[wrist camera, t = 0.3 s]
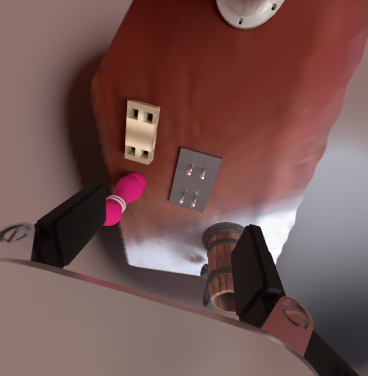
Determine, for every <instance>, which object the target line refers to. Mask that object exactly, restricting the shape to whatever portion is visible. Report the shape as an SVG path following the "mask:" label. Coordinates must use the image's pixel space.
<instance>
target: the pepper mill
mask: <svg viewBox="0 0 368 376" xmlns="http://www.w3.org/2000/svg"><path fill="white" fill-rule="evenodd" d="M145 185H146V181H145V179H144V177H143V176H142V175H141V174H139V173H136V172H132V173H129V174H128V175H127V176H125V177H123V178H121V179H120V180H119V182H118V183H117V186H116V190H115V193H114V194H113V195H111V196H109V197H108V198H106V222H105V223H104V224H103V225H106V226H110V225H113V224H115V223H117V222H118V221H119V220H120V218H121V216H122V212H123V211H124V210H125V208H126V204H127V203H129V202H131V201H134V200H136V199H138V198H139V197H140V196H141V194H142V192H143V189H144V187H145Z"/></svg>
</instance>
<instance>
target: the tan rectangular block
mask: <svg viewBox="0 0 368 376" xmlns="http://www.w3.org/2000/svg"><path fill="white" fill-rule="evenodd" d="M135 109H137V110H138V117H136V116H135ZM159 112H160V107H158V106H155V105H151V104H147V103H144V102H140V101H136V100H128V101H127V122H126V143H125V158H126V159H130V160H133V161H137V162H141V163H144V164H148V165H149V164H150V163H151V161H152V160H153V155H154V147H155V140H156V133H157V126H158V119H159ZM148 113H151V114H153V120H152V121H150V120H148ZM132 147H135V150H132ZM144 150H146V151H149V152H148V154H145V153H144Z"/></svg>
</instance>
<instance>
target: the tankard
mask: <svg viewBox="0 0 368 376" xmlns="http://www.w3.org/2000/svg"><path fill="white" fill-rule="evenodd" d="M244 229H245V228H244V227H243V226H241V225H239V224H235V223H230V222H222V223H217V224H214V225H212V226H210V227H209V228H208V229H207V230H206V231H205V232H204V234H203V237H202V242H203V245H204V247H205V248H206V249H207V257H208V264H204V265H203V267H202V269H201V273H200V275H201V277H203V278H205V279H207V284H206V288H205V292H204V296H203V306H204V307H205V308H207V309H209V310H213V309H214V308H217V309H219V310H221V311H223V312H227V313H236V309H235V299H234V289H233V278H232V268H231V253H232V251H233V249H234V247H235V246H236V244H237V242H238V240H239V238H240V236H241V234H242V232H243V230H244Z"/></svg>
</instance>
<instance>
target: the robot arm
mask: <svg viewBox="0 0 368 376" xmlns="http://www.w3.org/2000/svg"><path fill="white" fill-rule="evenodd" d="M283 2H284V0H216V3H217V6H218V9H219V12H220V14H221V15H222V17H223V19H224V20H225V21H226V22H227V23H228V24H230V25H231V26H233V27H235V28H238V29H245V30H247V29H252V28H255V27H258V26H260V25H262V24H263V23H265V22H266V21H267V20H269V19H270V18H271V17H272V16H273V15H274V14H275V13H276V11H277V10H278V9H279V8H280V6H281V5H282V3H283ZM272 7H273V8H274V10H272V9H271V8H272ZM240 21H241V24H239V22H240ZM105 222H106V189H105V187H104V186H103V184H100V183H96V182H92V183H90V184H89V185H87V186H86V187H85V188H83V189H82V190H81V191H79V192H78V193H76V194H75V195H74V196H72V197H70V198H69V199H68V200H66V201H65V202H63V203H62V204H61V205H59V206H58V207H56V208H55V209H53V210H52V211H51V212H49V213H48V214H46V215H45V216H43V217H42V218H41V219H39V220H38V221H37V223H36V224H35V225H33V224H30V223H26V222H21V223H15V224H10V225H8V226H5V227H3V228H2V229H0V376H359V375H358V374H357V373H356V372H355V371H354V370H353V369H352V368H351V367H350V366H349V365H348V364H347V363H346V362H345V361H344V360H343V359H342V358H341V357H340V356H339V355H338V354H337V353H336V352H335V351H334V350H333V349H332V348H331V347H329V345H328V344H327V343H326V342H325V341H324V340H323V339H322V338H321V337H320V336H319V335H318V334H317V333H316V332H315V331H314V330H313V321H312V318H311V316H310V314H309V313H308V311H307V310H306V309H305V307H304V306H303V305H302V304H301V303H299V302H298V301H296V300H295V299H293V298H291V297H288V296H286V295H285V292H284V289H283V286H282V283H281V280H280V278H279V275H278V272H277V269H276V266H275V264H274V261H273V258H272V255H271V253H270V252H269V251H268V248H267V245H266V242H265V239H264V236H263V233H262V230H261V228H260V227H259V226H256V225H252V224H250V225H249V226H246V227H245V229H244V230H243V232H242V234H241V236H240V238H239V240H238V242H237V244H236V246H235V247H234V249H233V251H232V253H231V268H232V278H233V289H234V299H235V309H236V314H237V315H238V316H239V321H238V320H235V319H232V318H228V317H225V316H222V315H219V314H216V313H213V312H209V311H206V310H202V309H199V308H196V307H193V306H189V305H186V304H182V303H179V302H176V301H172V300H169V299H166V298H162V297H159V296H155V295H152V294H149V293H145V292H142V291H138V290H135V289H131V288H128V287H124V286H121V285H118V284H114V283H111V282H107V281H104V280H100V279H97V278H93V277H90V276H86V275H82V274H79V273H76V272H72V271H69V270H65V269H62V268H63V267H64V266H67V265H69V264H70V263H71V261H72V260H73V259H74V258H75V257H76V256H77V254H78V253H79V252H80V251H81V250H82V249H83V248H84V246H85V245H86V244H87V243H88V242H89V241H90V239H91V238H92V237H93V236H94V235H95V234H96V233H97V231H98V230H99V229H100V228H101V227H102V226H103V224H104V223H105Z"/></svg>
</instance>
